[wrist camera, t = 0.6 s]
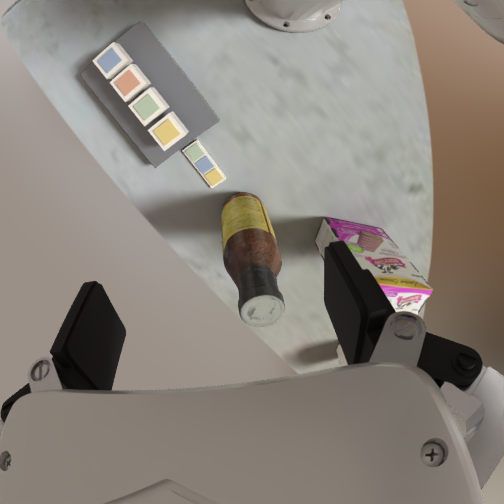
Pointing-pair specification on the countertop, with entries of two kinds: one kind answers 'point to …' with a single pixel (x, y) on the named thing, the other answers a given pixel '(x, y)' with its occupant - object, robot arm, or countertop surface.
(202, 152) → the strip
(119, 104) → the keypad board
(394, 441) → the robot arm
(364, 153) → the countertop surface
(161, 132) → the key mustard
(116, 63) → the key blue
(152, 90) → the key sage
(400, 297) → the candy bar box
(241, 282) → the sauce bottle
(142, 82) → the key terracotta
